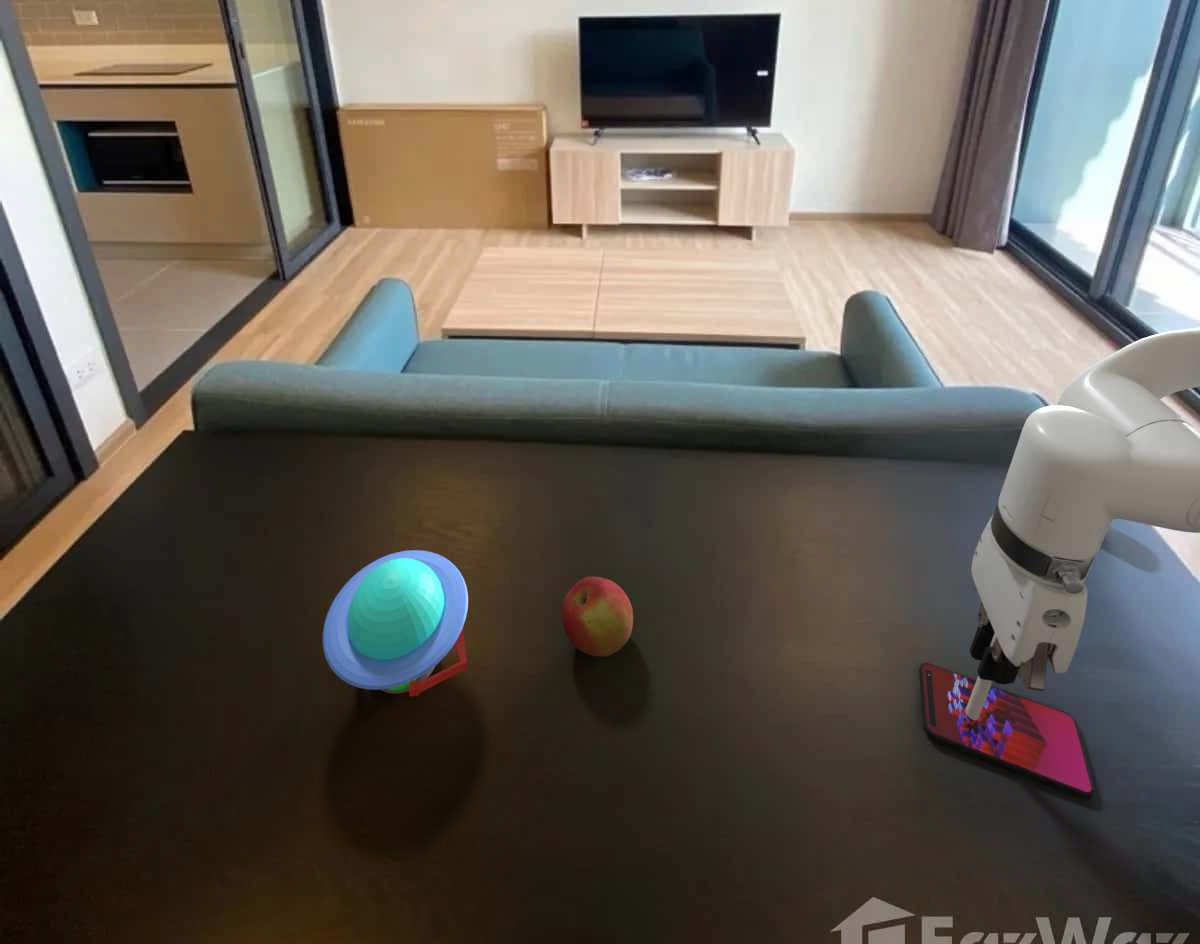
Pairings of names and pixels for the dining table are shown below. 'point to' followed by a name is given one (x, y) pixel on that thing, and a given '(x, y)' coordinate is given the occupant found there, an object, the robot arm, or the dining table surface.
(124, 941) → the dining table surface
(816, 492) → the dining table surface
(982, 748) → the smartphone
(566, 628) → the apple
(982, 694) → the stylus
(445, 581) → the teal dome on disc
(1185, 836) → the dining table surface
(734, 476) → the dining table surface
